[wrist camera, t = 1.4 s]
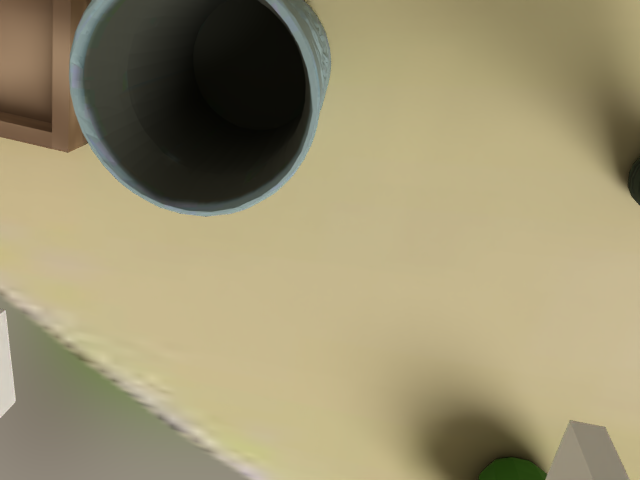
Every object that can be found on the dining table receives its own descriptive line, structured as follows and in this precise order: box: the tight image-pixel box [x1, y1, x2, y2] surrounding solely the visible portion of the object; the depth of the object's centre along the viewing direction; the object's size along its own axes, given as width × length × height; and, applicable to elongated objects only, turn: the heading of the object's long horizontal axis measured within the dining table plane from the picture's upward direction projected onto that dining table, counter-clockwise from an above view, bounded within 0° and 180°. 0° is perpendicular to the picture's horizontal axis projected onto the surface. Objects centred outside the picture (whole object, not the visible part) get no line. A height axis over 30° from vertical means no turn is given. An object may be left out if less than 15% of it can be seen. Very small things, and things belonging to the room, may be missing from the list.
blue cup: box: [69, 0, 331, 217], centre depth 28 cm, size 10×10×12 cm
